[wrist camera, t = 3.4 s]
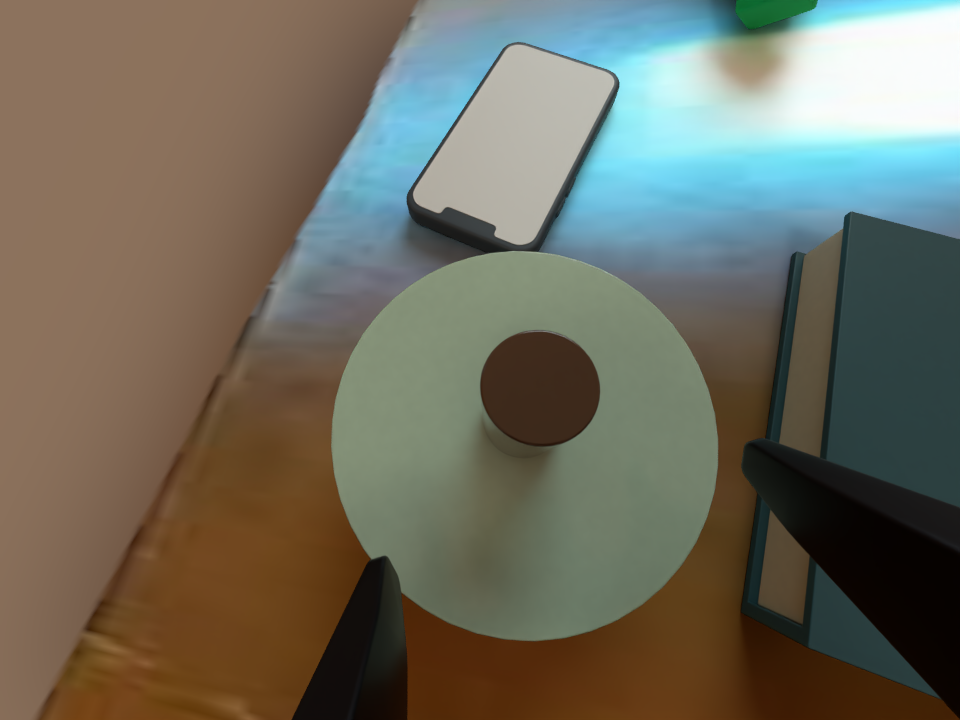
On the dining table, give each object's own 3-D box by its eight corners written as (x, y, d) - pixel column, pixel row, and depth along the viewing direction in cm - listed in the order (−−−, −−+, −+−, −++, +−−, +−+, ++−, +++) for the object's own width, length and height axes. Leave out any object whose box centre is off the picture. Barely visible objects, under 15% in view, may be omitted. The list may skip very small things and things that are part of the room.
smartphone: (506, 58, 29) (401, 221, 25) (508, 35, 27) (395, 203, 23) (619, 96, 28) (530, 274, 23) (627, 73, 26) (533, 259, 22)
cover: (768, 557, 13) (991, 618, 7) (383, 685, 13) (288, 870, 7) (618, 232, 17) (686, 103, 11) (316, 313, 16) (220, 219, 11)
